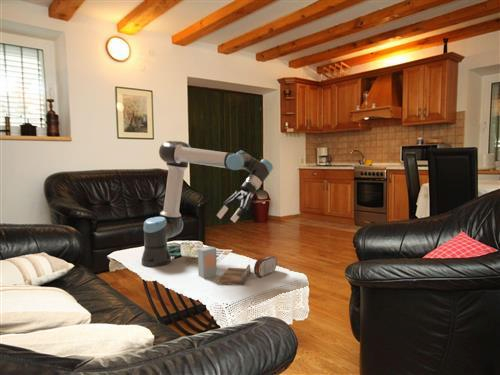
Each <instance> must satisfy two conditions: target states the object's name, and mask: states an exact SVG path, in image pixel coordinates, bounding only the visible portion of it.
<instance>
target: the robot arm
mask: <svg viewBox="0 0 500 375" xmlns="http://www.w3.org/2000/svg"><path fill="white" fill-rule="evenodd" d="M158 154H159V157H160V159H161V160H162V161H164V163H166V166H167V167H168V172H167V179H166V187H165V197H164V203H163V210H162V211H160V212H159V216H154V217H150V218H147V219H146V220H145V221H144V222H143V229H142V230H143V243H144V245H143V246H144V250H143V252H142V253H143V254H142V256H141V265H142V266H144V267H161V266H166V265H169V264H170V263H171V262H172V257H171V254H170V251H169V248H168V239H171V238H173V237H176V236H177V235H179V234H180V233H181V232H182V230H183V228H184V221H183V220H182V214H181V213H180V205H181V199H182V191H183V184H184V183H183V182H184V176H185V170H186V169H187V168H188V166H189V164H196V165H203V166H208V167H210V166H211V167H215V168H216V167H217V168H224V169H229V170H232V171H239V170H245V171H247V172H248V173H250V174H249V175H248V177H246V179H245V181H244V182H243V183H242V185H240V191H238V190H235V192H234V193H232V194H231V196H229V197H228V198H227V199H226V200H225V201H223V202H222V204H223V206H222V207H221V208H220V210H219V211H218V213H217V214H216V216H217V217H218V218H219V220H221V219H223V217H224V215H225V214H226V213H227V211H228V210H229V209H230V207H231V206H233V205H234V204H236V203H239V202H240V206H239V207H238V208H237V209H236V211H235V212H234V214H233V215H232V216H231V217H230V221H232V222H233V223H234V224H235V223H236V222H237V221H238V219H240V217H241V215H242V214H243V213H245V212H248V211H249V209H250V206H251V204H252V201H253V198H254V197H255V194H256V193H257V190H258V189H260V188H261V185H262V184H263V183H264V182H265V180H266V179H267V178H268V176H270V173H271V172H272V171H273V169H274V166H273V164H272V163H271V162H270V161H269V160H268V159H264V158H262V159H261V160H258V159H256V158H255V157H253V156H251V155H250V154H249V153H248V152H246V151H244V150H241V149H240V150H239V151H237V152H236V153H234V152H226V151H225V152H223V151H216V150H211V149H205V148H203V149H202V148H194V147H191V145H190V144H189V143H187V142H184V141H178V140H175V141H174V140H168V141H164V142H163V143H162V144H161V145H160V146H159V149H158Z"/></svg>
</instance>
